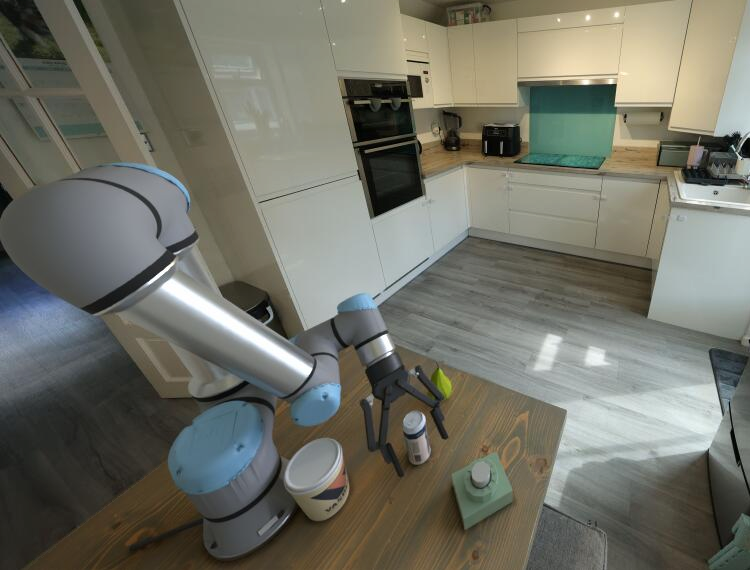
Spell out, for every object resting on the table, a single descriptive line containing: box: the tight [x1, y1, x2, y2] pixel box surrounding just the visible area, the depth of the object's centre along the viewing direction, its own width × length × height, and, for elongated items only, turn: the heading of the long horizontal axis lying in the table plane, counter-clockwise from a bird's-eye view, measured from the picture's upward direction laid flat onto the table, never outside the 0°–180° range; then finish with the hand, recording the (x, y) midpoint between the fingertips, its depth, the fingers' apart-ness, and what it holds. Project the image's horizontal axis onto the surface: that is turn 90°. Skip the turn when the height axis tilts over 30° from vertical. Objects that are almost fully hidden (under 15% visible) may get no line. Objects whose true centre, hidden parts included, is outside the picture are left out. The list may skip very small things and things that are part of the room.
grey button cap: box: [471, 462, 490, 488], centre depth 60 cm, size 4×4×2 cm
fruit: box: [426, 361, 453, 403], centre depth 80 cm, size 6×6×12 cm
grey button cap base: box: [450, 451, 514, 531], centre depth 62 cm, size 10×8×6 cm
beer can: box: [401, 410, 432, 465], centre depth 67 cm, size 5×5×12 cm
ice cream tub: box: [284, 437, 350, 522], centre depth 60 cm, size 9×9×12 cm
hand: (424, 455), depth 66 cm, fingers open, 10 cm apart
